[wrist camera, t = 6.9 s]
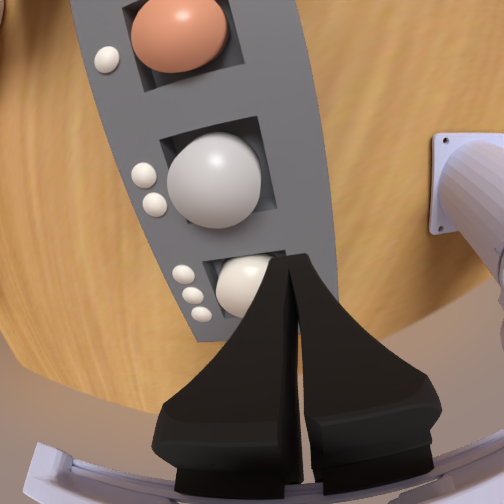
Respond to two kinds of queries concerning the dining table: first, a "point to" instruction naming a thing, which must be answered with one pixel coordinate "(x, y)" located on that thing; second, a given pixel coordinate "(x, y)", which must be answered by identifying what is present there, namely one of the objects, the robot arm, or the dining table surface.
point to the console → (216, 120)
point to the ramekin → (1, 9)
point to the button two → (215, 180)
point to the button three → (241, 281)
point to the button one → (179, 34)
